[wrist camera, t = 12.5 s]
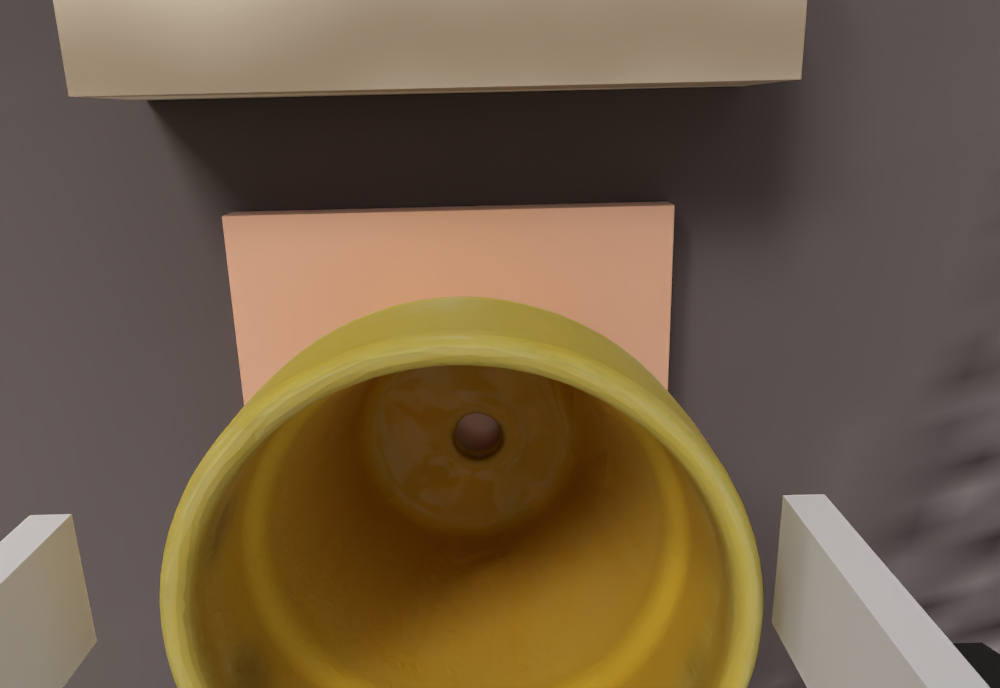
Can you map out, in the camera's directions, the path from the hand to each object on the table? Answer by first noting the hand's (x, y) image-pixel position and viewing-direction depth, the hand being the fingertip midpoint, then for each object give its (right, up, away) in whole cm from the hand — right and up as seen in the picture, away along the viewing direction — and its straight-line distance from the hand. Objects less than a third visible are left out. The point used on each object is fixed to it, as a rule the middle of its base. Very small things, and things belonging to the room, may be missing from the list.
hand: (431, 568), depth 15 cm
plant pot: (+1, +2, +8) cm, 8 cm away
